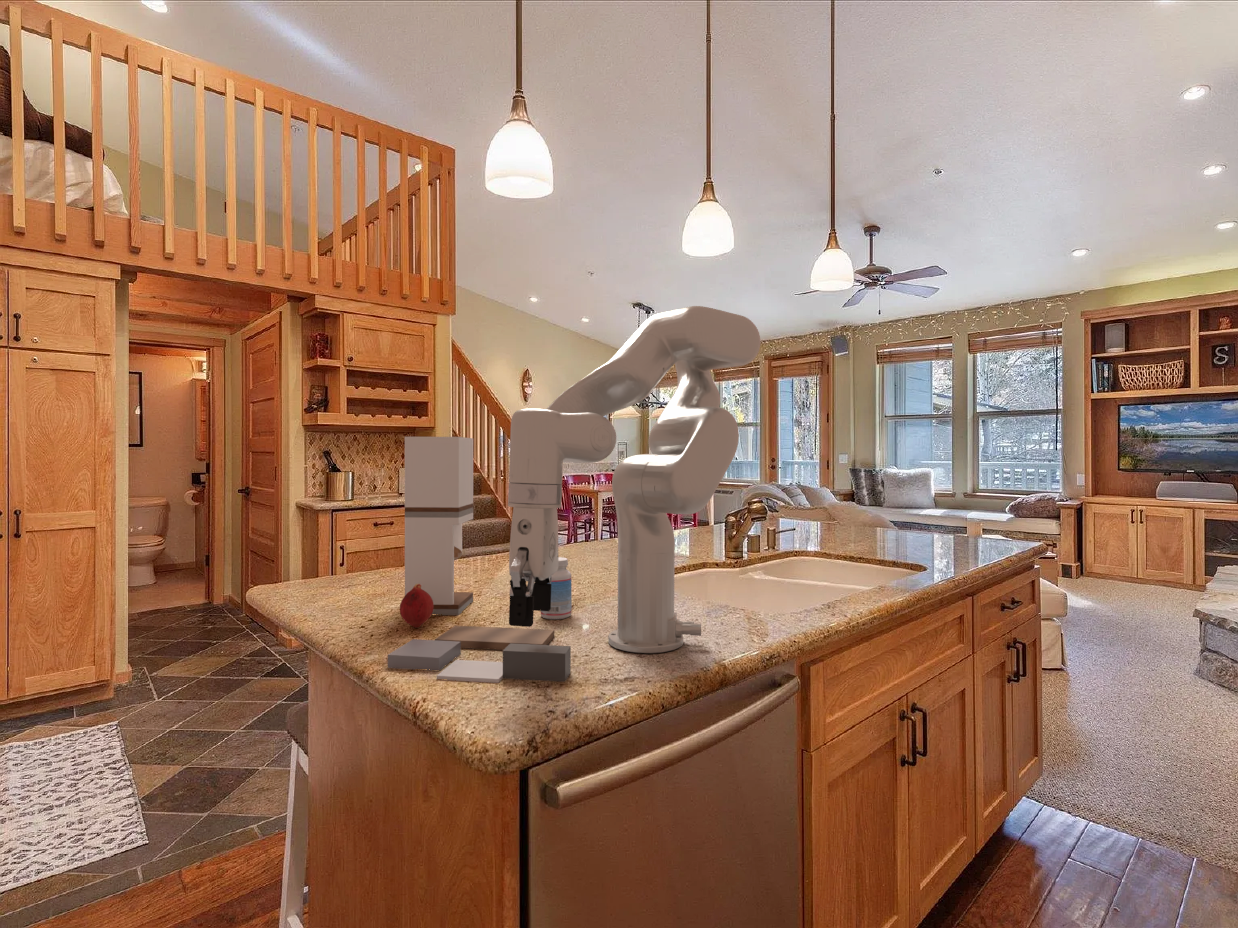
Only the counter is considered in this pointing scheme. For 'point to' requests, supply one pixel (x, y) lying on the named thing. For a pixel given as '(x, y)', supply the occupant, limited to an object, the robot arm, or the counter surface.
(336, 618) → the counter surface
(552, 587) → the pill bottle
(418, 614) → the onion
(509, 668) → the stepped grey white block
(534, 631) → the rest
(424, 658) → the tile
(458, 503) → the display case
